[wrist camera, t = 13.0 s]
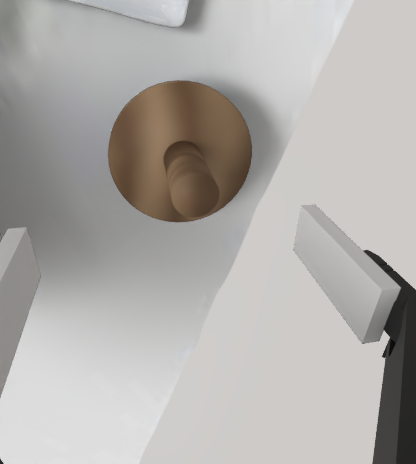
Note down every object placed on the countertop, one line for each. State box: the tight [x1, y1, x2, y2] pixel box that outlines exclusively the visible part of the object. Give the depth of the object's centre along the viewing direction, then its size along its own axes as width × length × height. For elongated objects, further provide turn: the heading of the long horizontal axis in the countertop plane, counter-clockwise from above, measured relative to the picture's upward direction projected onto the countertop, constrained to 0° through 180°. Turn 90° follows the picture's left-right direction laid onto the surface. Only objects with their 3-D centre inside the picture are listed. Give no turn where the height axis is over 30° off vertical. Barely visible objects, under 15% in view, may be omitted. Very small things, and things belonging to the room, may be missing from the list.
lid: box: [108, 80, 252, 222], centre depth 33 cm, size 15×15×10 cm
